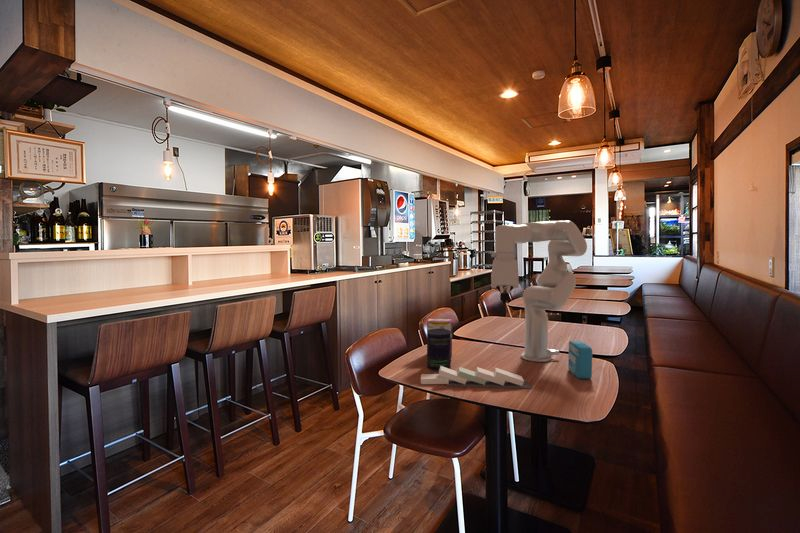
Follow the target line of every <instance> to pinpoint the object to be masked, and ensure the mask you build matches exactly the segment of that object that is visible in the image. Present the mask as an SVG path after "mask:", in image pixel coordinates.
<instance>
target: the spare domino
mask: <svg viewBox="0 0 800 533" xmlns="http://www.w3.org/2000/svg"><path fill="white" fill-rule="evenodd" d="M457 373H458V376H459V377H462V378H465V379H468V380H471V381H474V382H477V383H480V384H483V385H485V383H486V380H485V379H482V378H479V377H476V373H475V371H473V370H470V369H467V368H465V367H461V366H458V369H457Z"/></svg>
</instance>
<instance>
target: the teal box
mask: <svg viewBox="0 0 800 533" xmlns="http://www.w3.org/2000/svg"><path fill="white" fill-rule="evenodd" d="M567 362H568V370H569V372H571V374H573V375H574V376H575V377H576V378H577V379H578V378H579V379H578V380H580V379H581V380H591V379H592V376H593V349H592V347H591V346H589V345H588V344H586V342H584V341H582V340H569V342H568V361H567Z"/></svg>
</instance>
